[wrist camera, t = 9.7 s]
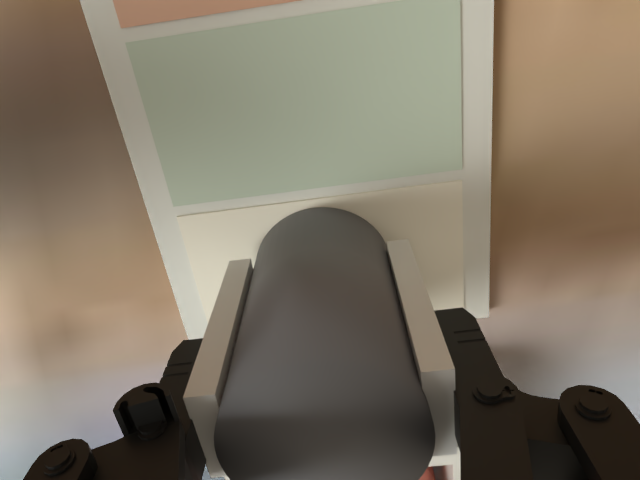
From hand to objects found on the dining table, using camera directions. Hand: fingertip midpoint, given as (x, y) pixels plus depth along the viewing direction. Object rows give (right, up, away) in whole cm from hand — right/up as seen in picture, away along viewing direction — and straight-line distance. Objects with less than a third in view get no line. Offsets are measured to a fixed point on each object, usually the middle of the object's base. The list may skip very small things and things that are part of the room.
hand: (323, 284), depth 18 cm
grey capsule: (0, 0, +1) cm, 1 cm away
